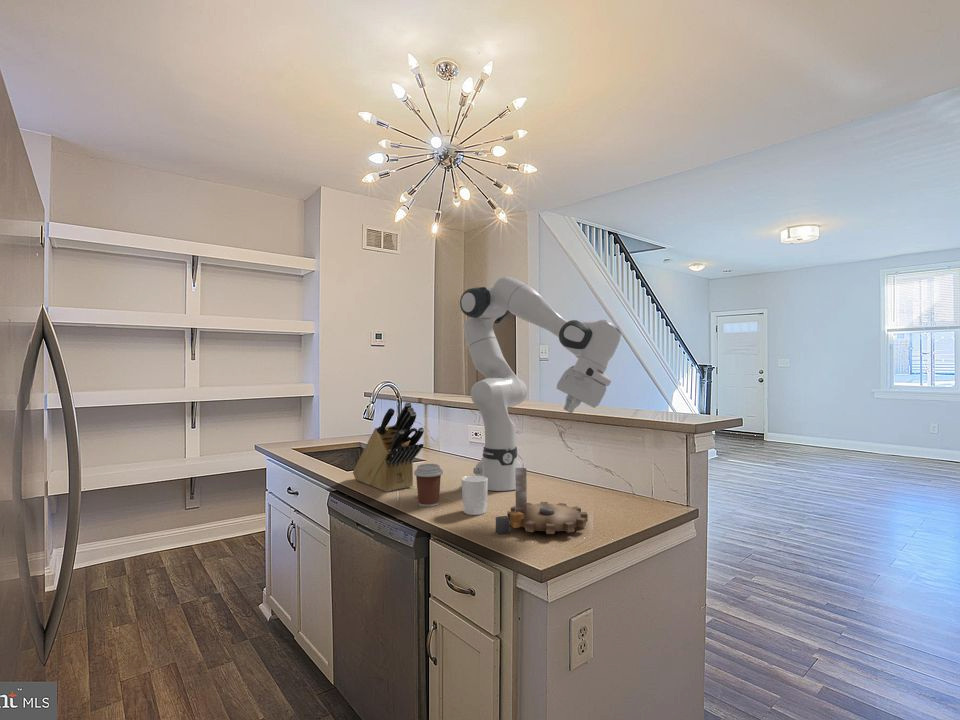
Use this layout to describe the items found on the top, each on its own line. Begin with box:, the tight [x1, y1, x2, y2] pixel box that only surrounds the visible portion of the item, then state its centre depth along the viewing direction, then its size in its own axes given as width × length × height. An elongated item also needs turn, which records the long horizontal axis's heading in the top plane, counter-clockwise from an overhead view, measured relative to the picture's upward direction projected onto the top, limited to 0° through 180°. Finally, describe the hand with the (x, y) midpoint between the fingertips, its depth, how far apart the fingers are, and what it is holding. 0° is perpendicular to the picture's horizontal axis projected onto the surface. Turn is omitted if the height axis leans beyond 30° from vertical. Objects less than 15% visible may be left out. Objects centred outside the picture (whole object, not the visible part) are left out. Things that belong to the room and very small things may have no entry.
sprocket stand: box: [495, 515, 510, 535], centre depth 136 cm, size 8×19×4 cm, turn 113°
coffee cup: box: [413, 463, 444, 507], centre depth 161 cm, size 9×9×12 cm
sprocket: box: [506, 467, 588, 535], centre depth 138 cm, size 22×22×14 cm
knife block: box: [352, 401, 425, 493], centre depth 184 cm, size 11×35×31 cm, turn 39°
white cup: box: [461, 475, 488, 516], centre depth 152 cm, size 8×8×10 cm
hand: (567, 411), depth 155 cm, fingers closed
